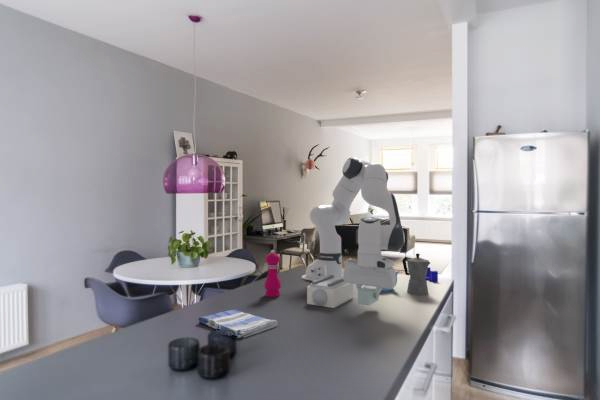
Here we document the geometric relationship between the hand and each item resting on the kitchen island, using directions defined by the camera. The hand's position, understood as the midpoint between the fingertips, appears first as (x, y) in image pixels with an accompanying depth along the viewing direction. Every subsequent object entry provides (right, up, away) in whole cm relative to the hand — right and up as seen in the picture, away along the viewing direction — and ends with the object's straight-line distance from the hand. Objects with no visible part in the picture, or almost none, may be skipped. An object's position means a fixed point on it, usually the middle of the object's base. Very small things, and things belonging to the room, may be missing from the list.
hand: (368, 297), depth 153 cm
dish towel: (-47, -6, -15) cm, 50 cm away
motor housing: (-13, -5, +16) cm, 21 cm away
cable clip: (+41, -5, +57) cm, 70 cm away
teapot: (+12, -5, +36) cm, 39 cm away
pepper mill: (-38, -5, +25) cm, 46 cm away
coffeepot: (+26, -5, +29) cm, 39 cm away
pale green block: (0, -2, 0) cm, 2 cm away
